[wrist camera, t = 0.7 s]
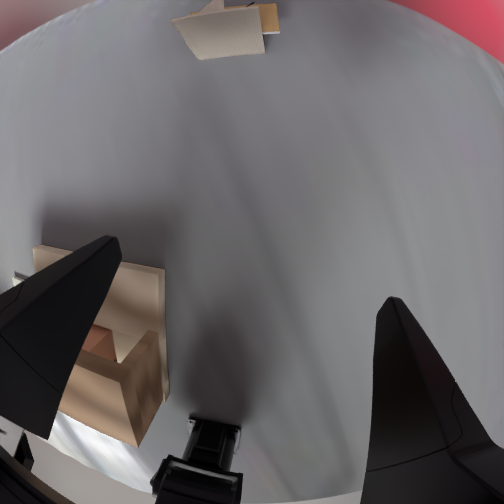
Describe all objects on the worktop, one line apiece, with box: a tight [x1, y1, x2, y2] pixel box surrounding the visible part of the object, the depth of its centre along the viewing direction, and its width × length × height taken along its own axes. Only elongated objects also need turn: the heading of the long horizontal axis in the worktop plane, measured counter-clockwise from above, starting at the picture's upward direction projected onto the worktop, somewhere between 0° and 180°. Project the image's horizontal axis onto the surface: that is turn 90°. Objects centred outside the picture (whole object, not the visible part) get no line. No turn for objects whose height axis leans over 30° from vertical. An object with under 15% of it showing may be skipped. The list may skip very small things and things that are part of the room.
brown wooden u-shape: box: [58, 330, 163, 447], centre depth 21 cm, size 9×17×7 cm, turn 83°
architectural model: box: [171, 0, 279, 60], centre depth 14 cm, size 3×7×7 cm, turn 92°
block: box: [82, 324, 117, 361], centre depth 23 cm, size 4×4×7 cm
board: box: [33, 245, 170, 402], centre depth 25 cm, size 16×17×2 cm
